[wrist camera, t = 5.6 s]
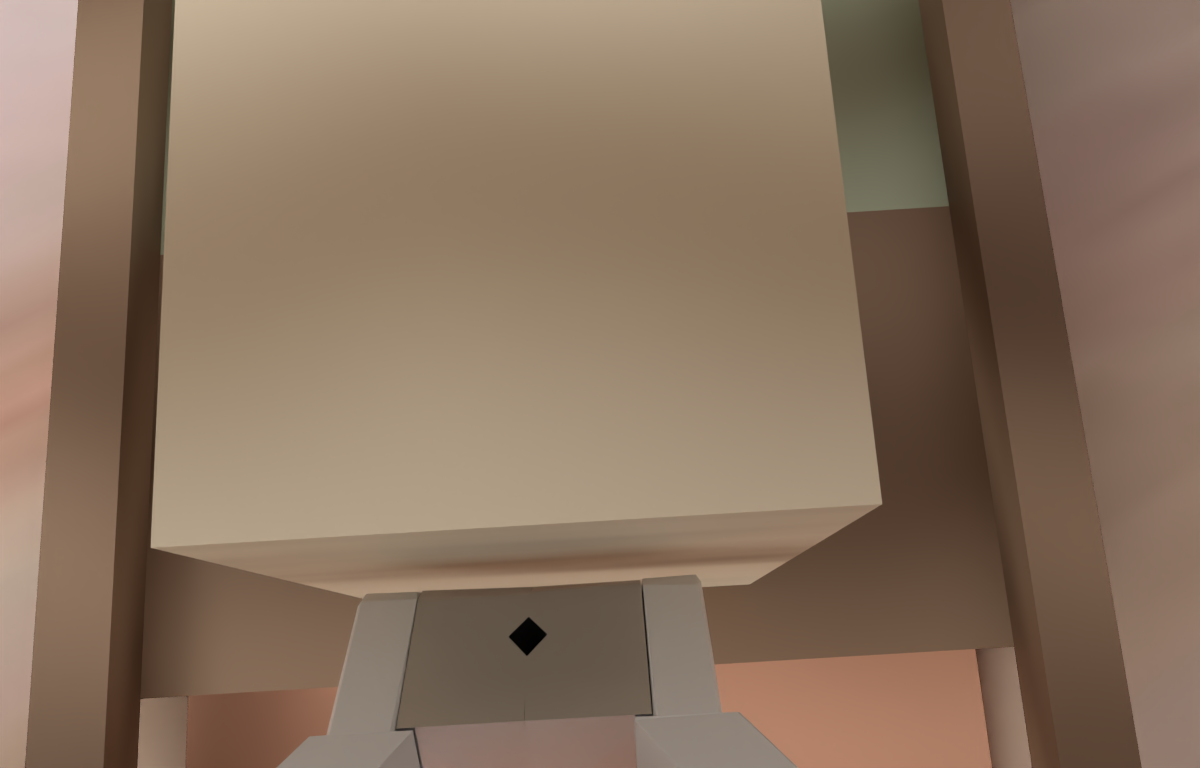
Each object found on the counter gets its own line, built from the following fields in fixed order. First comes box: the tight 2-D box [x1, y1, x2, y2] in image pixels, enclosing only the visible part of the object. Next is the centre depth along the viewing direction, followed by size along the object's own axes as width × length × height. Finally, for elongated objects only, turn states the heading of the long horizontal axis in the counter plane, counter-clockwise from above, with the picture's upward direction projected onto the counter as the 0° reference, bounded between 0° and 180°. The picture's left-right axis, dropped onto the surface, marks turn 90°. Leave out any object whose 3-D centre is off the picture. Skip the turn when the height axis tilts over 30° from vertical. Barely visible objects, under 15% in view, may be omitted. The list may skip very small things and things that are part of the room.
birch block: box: [151, 0, 882, 599], centre depth 12 cm, size 5×5×8 cm
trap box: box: [25, 0, 1142, 768], centre depth 14 cm, size 30×14×6 cm, turn 3°
